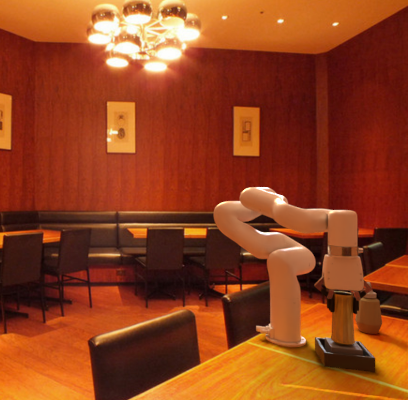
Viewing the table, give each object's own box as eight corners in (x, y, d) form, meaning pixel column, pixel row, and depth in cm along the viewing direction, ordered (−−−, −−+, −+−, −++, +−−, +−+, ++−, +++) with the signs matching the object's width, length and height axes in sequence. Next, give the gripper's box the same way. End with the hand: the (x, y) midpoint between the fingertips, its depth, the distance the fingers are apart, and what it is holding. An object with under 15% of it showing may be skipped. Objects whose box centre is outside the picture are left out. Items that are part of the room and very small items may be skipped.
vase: (359, 344, 109) (359, 296, 109) (338, 345, 109) (338, 296, 109) (346, 337, 115) (346, 290, 115) (326, 337, 115) (326, 290, 115)
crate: (324, 368, 108) (324, 352, 108) (314, 351, 120) (314, 337, 120) (375, 374, 104) (375, 358, 104) (360, 355, 116) (360, 341, 116)
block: (331, 364, 110) (331, 347, 110) (324, 353, 117) (324, 337, 117) (363, 367, 107) (363, 350, 107) (354, 356, 115) (354, 340, 115)
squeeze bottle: (383, 337, 131) (383, 285, 131) (355, 333, 136) (355, 283, 136) (381, 330, 138) (381, 281, 138) (355, 326, 143) (354, 279, 142)
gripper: (371, 250, 113) (371, 310, 113) (307, 248, 118) (308, 306, 119) (380, 254, 106) (381, 318, 106) (313, 252, 111) (313, 313, 111)
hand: (342, 311), depth 112 cm, fingers closed on vase, 5 cm apart
